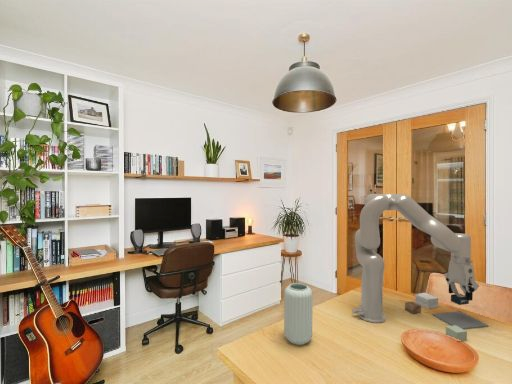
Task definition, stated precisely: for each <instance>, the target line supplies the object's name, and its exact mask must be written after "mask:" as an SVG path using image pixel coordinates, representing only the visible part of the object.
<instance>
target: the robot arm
mask: <svg viewBox="0 0 512 384" xmlns="http://www.w3.org/2000/svg"><path fill="white" fill-rule="evenodd" d="M363 202H364V206H363V208H362V209H361V210H360V214H359V228H358V229H357V230H356V231H355V234H354V243H355V244H354V245H355V254H356V255H355V256H356V260H357V262H358V263H359V264H360V266H361V267H362V273H361V282H360V283H361V291H360V293H361V295H360V296H361V297H360V301H361V302H360V305H358V308H353V309H351V313H352V314H357V316H358V318H360V319H361V320H364V321H366V322H369V323H373V324H375V323H376V324H377V323H379V324H380V323H381V324H382V323H384V322H385V321H386V320H387V319H386V318H387V316H386V314H384V313H383V301H384V299H383V296H384V295H383V294H384V293H383V292H384V291H383V289H384V288H383V286H384V281H383V280H384V273H385V267H386V265H385V260H384V258H383V257H382V256H381V254H379V253H377V252H376V251H375V250H377V249H378V248H379V247H380V244H381V237H380V227H379V226H380V223H379V220H380V217H381V215H382V214H383V213H384V212H385V211H396V212H398V213H399V214H401V215H402V216H403V217H404V218H405V219H406V220H407V221H409V223H410V224H411V225H412V226H414V227H415V228H417V229H418V230H420V231H422V232H423V233H425V234H428V235H429V236H430V242H431V244H432V245H433V246H434V247H436V248H439V249H441V250H444V251H447V252H450V260H449V264H448V268H447V269H448V270H447V272H446V273H444V274H443V276H444V278H445V281H446V282H447V285H448V293H449V294H454V293H453V291H452V289H451V282H455V284H458V285H459V284H461V285H463V286H465V288H466V290H467V292H466V294H464V295H465V300H467V301H469V302H470V301H473V295H474V294H473V293H474V292H475V291H477V289H479V287H480V286H479V283H477V282H476V281H475V278H476V277H475V269H474V266H473V260H472V257H471V256H472V237H471V236H470V234H467V233H462V232H461V233H459V232H458V233H457V232H454V231H452V230H451V229H450V228H449V227H448V226H446V224H444V223H442V222H441V221H439V220H438V219H437V218H435V217H433V216H432V215H431V214H429V212H427V211H426V209H424V208H423V207H422V206H421V205H420V204H419V203H417V202H416V200H414V198H412V197H410V195H407V194H403V193H370V194H368V195H366V196H365V198H364V201H363ZM468 287H469V288H470V289H469V288H468Z"/></svg>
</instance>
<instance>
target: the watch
mask: <svg viewBox="0 0 512 384" xmlns="http://www.w3.org/2000/svg"><path fill="white" fill-rule="evenodd" d="M458 285H459V288H460V289H461V291H463V294H462V293H459V290H458V289H457V285H456V283H455V282H451V289H452V291H453V293H452V294H450V302H451V303H454V304H456V305H458V306H463V305H469V304H470V301H467V300H465V294H466V292H467V290H466V288H465V286H463V285H461V284H458ZM468 288H469V287H468ZM469 289H470V288H469Z"/></svg>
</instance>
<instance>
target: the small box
mask: <svg viewBox="0 0 512 384" xmlns="http://www.w3.org/2000/svg"><path fill="white" fill-rule="evenodd" d="M414 297H415V299H414V302H415V303H417V304H419V305H421V308H422V307H423V308H424V309H427V310H430V309H435V308H439V297H438V296H435V295H432V294H430V293H427V292H421V293H420V292H419V293H415V294H414Z"/></svg>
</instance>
